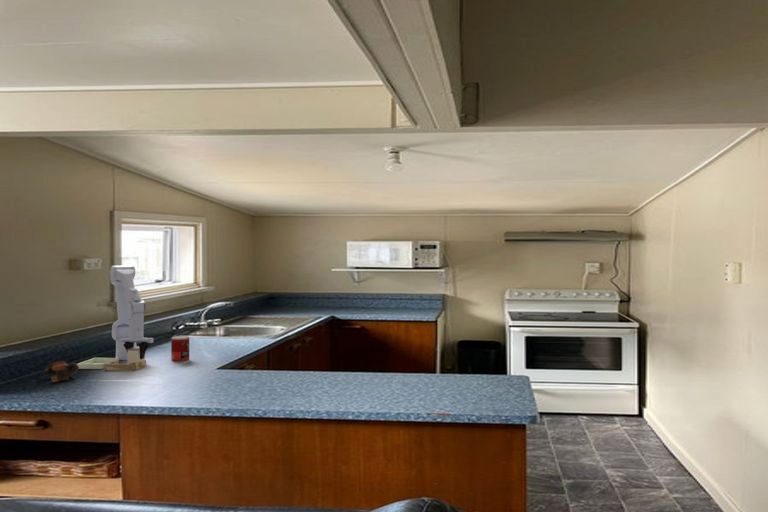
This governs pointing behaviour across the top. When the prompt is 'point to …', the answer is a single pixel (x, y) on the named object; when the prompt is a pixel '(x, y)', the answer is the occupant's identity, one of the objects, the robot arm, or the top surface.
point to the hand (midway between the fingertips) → (136, 358)
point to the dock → (124, 366)
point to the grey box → (134, 355)
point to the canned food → (180, 348)
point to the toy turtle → (61, 370)
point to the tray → (95, 363)
